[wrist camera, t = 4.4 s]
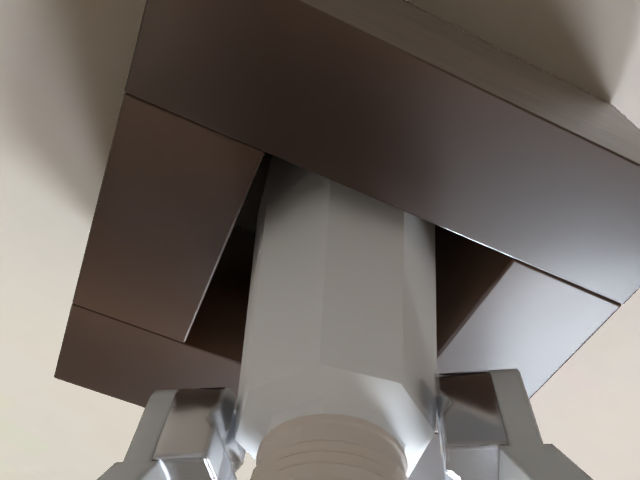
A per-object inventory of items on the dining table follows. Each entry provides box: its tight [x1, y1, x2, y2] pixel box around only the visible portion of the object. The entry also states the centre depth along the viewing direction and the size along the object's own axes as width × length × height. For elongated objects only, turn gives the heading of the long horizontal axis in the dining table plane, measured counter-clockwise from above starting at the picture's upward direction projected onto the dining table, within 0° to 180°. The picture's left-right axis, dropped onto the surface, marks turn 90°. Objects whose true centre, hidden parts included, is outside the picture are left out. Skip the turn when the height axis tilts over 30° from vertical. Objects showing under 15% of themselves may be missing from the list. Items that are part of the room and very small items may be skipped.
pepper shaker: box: [235, 156, 437, 480], centre depth 13 cm, size 5×5×11 cm
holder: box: [54, 0, 640, 480], centre depth 16 cm, size 12×12×6 cm
